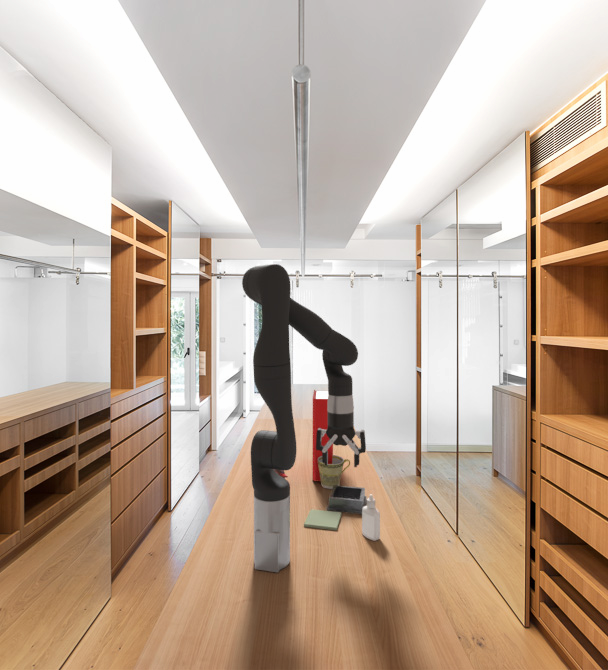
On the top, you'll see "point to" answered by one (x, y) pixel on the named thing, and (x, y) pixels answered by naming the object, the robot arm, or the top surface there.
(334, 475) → the ceramic cup
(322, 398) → the book
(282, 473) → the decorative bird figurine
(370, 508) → the eye dropper bottle
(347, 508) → the socket block
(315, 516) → the rubber mat
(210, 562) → the top surface
